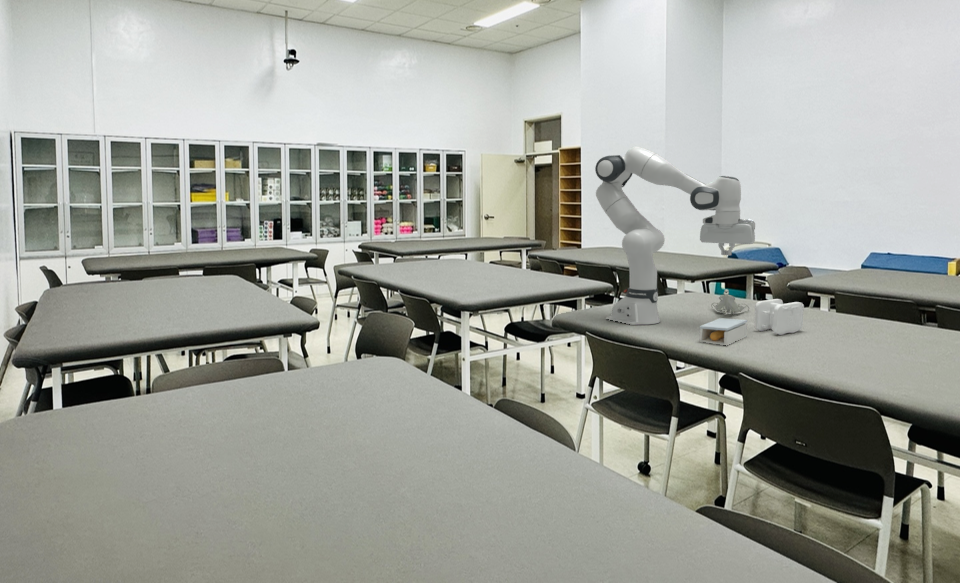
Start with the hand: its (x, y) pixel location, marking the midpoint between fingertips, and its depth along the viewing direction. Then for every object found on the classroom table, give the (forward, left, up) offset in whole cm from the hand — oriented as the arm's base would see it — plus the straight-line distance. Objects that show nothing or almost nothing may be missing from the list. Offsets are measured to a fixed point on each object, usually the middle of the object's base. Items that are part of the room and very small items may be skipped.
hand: (726, 255), depth 245 cm
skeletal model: (-11, +30, -30) cm, 44 cm away
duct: (+7, -17, -29) cm, 34 cm away
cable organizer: (+18, +8, -29) cm, 35 cm away
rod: (+8, -17, -28) cm, 33 cm away
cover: (+7, -17, -24) cm, 30 cm away
